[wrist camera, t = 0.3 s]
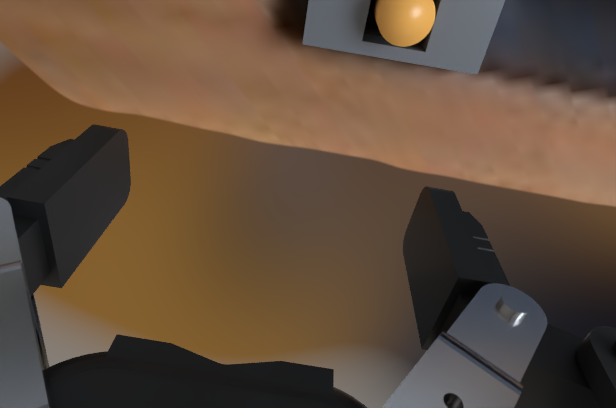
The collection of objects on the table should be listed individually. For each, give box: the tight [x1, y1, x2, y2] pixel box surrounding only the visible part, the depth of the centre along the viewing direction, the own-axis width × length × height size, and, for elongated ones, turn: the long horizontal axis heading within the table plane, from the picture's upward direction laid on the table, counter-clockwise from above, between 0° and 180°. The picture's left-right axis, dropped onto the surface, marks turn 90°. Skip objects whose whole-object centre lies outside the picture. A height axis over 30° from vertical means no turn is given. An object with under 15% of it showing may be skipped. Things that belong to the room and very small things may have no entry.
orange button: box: [374, 0, 435, 47], centre depth 32 cm, size 4×4×4 cm
